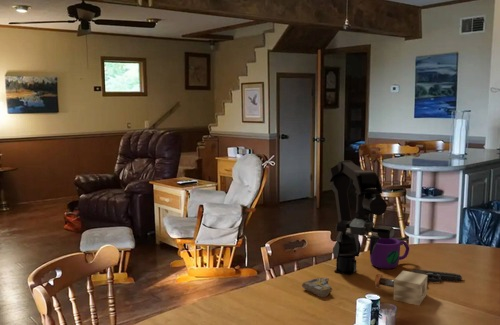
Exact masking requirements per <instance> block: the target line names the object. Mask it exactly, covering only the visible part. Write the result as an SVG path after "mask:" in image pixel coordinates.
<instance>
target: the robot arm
mask: <svg viewBox="0 0 500 325" xmlns="http://www.w3.org/2000/svg"><path fill="white" fill-rule="evenodd" d="M326 178H327V182H328V184H329V188H330V189H331V190H332V192H333V193H334V197H335V205H336V211H337V212H336V214H337V221H338V222H336V225H335V231H336V232H338V234H337V235H336V237H335V238H336V239H335V240H336V242H335V244H334V246H333V248H332V254H333V256H335V257H336V262H335V263H336V264H335V267H336V268H335V269H334V273H338V274H344V275H350V276H351V275H353V274H354V273H355V272H356V271H357V259H356V257H357V258H359V257H360V252H361V242H360V239H359V238H360V236H361V237H363V236H365V235H366V233H369V234H370V233H371V234H372V235H371V236H370V239H369V240H371V244H370V243H369V256H370V255H372V253H373V251H374V248H375V246H376V244H377V242H378V240H379V239H380V238H386V239H390V238H393V236H394V235H395V229H394V227H393V226H388V225H381V226H380V227H375V222H374V219H375V218H374V217H375V216H382V215H384V214H385V212H386V211H387V207H388V205H387V201H386V200H385V199H384V198H382V194H383V187H382V184H381V181H380V179H379V176H378V174H377V173H376V172H375V171H372V170H364V169H362V168H361V167H360V166H359V165H356V164H355V162H353V161H352V160H340V161H338V162H337V164H336V165H334V166H333V167H331V168H330V169H329V171H328V173H327V176H326ZM351 180H352V184H353V186H354V188H355V194H356V211H355V212H354V217H353V219H352V215H351V207H350V202H349V196H348V195H349V194H348V190H349V188H350V186H351Z"/></svg>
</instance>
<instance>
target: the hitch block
mask: <svg viewBox="0 0 500 325" xmlns="http://www.w3.org/2000/svg"><path fill="white" fill-rule="evenodd" d="M393 280H394V287H393V301H397V302H401V303H406V304H411V305H415V306H420V305H421V304H422V302H423V301H424V300H425V298H426V296H427V293H428V282H427V275H424V274H419V273H413V272H412V271H407V270H401V272H400V273H398V275H397V276H396V277H395V278H394V279H393Z"/></svg>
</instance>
